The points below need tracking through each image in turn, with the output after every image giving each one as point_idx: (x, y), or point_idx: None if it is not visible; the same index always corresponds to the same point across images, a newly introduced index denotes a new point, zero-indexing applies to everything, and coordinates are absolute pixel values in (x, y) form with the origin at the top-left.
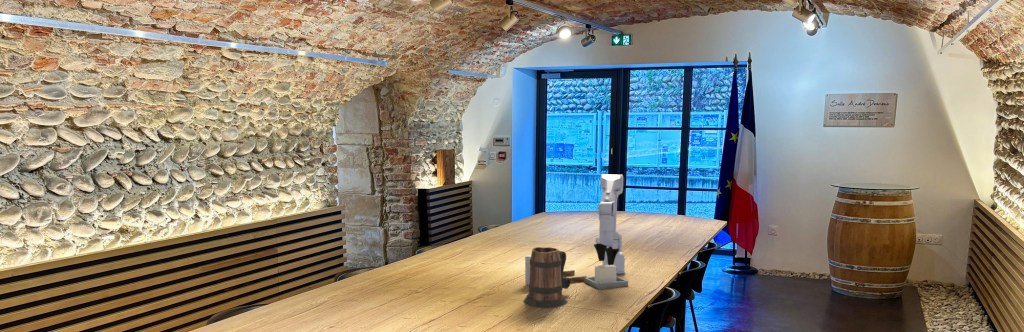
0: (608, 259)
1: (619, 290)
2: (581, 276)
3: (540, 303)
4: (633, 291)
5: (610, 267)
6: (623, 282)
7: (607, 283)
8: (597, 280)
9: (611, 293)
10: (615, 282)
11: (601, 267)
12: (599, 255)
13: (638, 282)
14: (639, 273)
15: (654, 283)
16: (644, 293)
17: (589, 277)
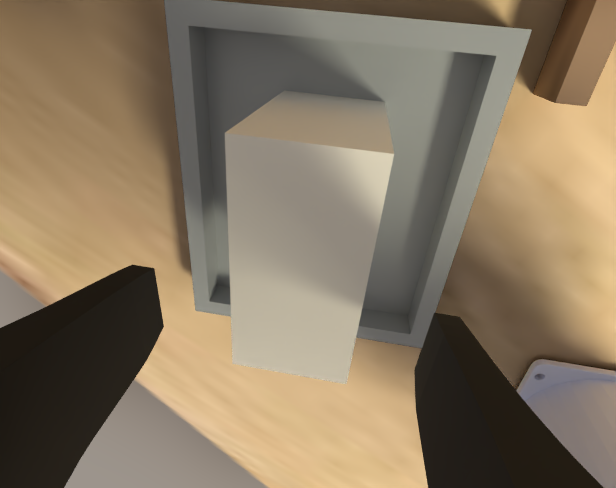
0: (39, 311)
1: (112, 162)
2: (607, 30)
3: None
4: (70, 229)
5: (234, 297)
6: (194, 272)
7: (177, 123)
8: (321, 101)
9: (32, 36)
10: (185, 209)
11: (248, 184)
12: (462, 399)
13: (259, 377)
14: (423, 485)
15: (208, 414)
16: (17, 254)
17: (487, 100)
